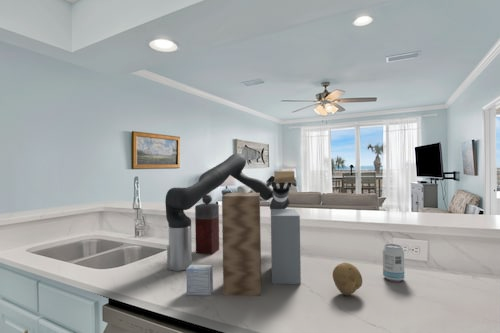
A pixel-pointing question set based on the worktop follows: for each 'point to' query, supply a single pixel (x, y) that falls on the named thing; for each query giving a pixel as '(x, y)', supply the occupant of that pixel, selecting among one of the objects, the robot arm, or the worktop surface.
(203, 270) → the medicine box
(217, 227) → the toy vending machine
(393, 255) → the beverage can
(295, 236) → the short pedestal
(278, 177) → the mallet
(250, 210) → the tall pedestal
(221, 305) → the worktop surface
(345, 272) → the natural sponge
